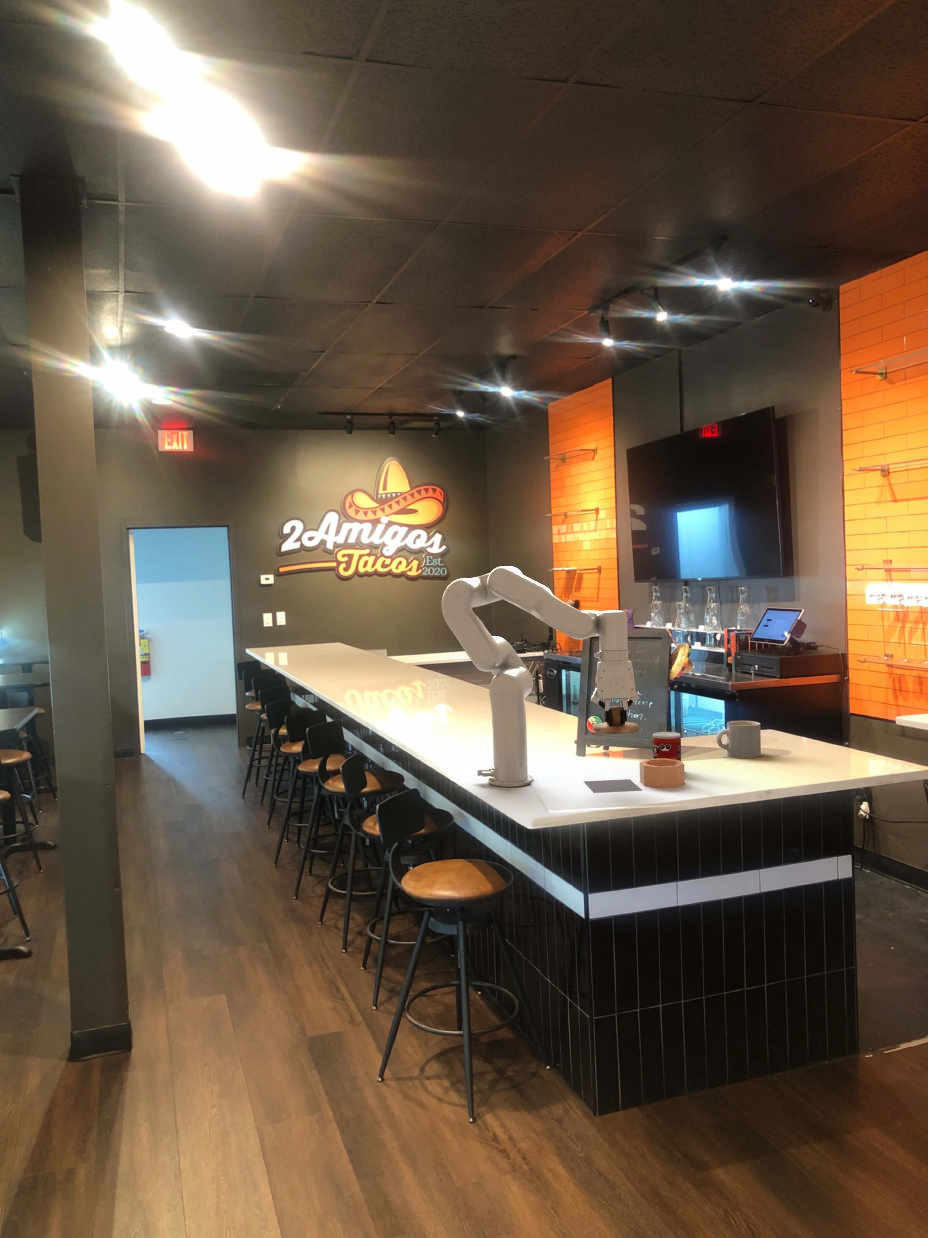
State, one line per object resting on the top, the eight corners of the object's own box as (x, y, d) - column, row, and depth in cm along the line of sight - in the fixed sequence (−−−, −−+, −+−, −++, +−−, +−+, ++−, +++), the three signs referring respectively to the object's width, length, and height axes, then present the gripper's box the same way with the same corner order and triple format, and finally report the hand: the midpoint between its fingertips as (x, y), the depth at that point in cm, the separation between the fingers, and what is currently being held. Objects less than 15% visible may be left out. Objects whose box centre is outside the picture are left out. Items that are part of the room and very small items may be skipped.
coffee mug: (757, 752, 284) (756, 720, 284) (763, 758, 274) (763, 725, 274) (713, 752, 286) (713, 721, 285) (718, 758, 276) (718, 726, 275)
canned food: (648, 770, 262) (647, 733, 262) (671, 768, 265) (670, 730, 265) (662, 776, 255) (662, 737, 255) (686, 773, 258) (686, 735, 257)
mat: (593, 795, 236) (593, 792, 236) (583, 783, 249) (583, 781, 249) (642, 792, 237) (642, 790, 237) (629, 781, 250) (629, 779, 250)
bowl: (647, 790, 239) (647, 768, 239) (636, 781, 250) (636, 759, 250) (688, 788, 240) (688, 766, 239) (675, 779, 251) (675, 757, 250)
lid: (598, 734, 236) (597, 711, 235) (589, 727, 248) (588, 705, 247) (643, 732, 236) (643, 709, 236) (632, 725, 248) (631, 703, 248)
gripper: (586, 659, 237) (588, 728, 238) (647, 656, 238) (649, 725, 239) (580, 656, 244) (583, 723, 245) (640, 654, 245) (642, 721, 246)
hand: (615, 724), depth 242 cm, fingers closed on lid, 3 cm apart
